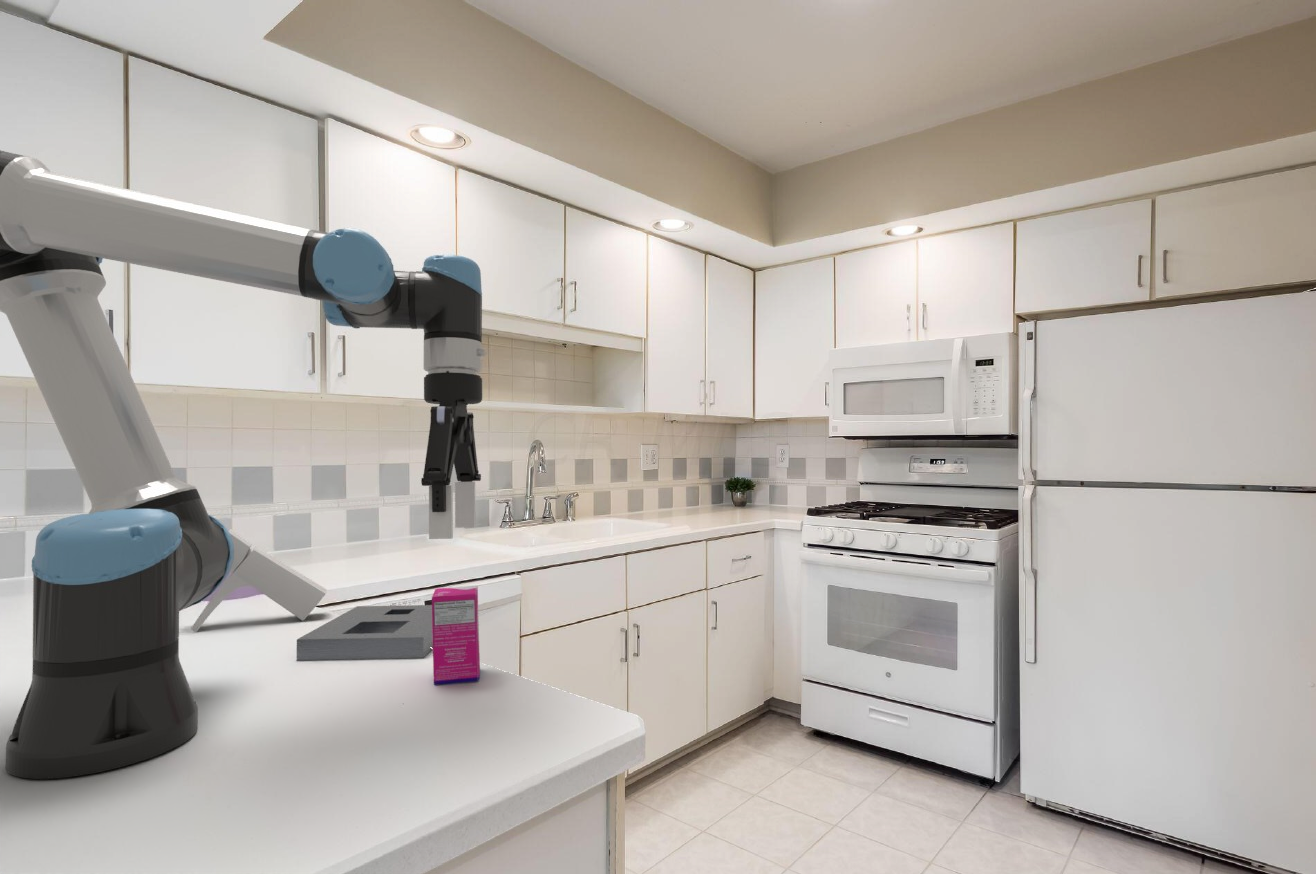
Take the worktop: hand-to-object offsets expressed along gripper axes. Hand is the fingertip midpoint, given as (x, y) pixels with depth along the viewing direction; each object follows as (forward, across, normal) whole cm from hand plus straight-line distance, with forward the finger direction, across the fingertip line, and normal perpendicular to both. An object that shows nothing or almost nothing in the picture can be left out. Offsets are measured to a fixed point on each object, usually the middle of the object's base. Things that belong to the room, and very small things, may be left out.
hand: (454, 532), depth 92 cm
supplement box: (+19, 0, 0) cm, 19 cm away
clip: (+19, +58, +64) cm, 89 cm away
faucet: (+19, +33, +42) cm, 57 cm away
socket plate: (+19, +20, +15) cm, 31 cm away
